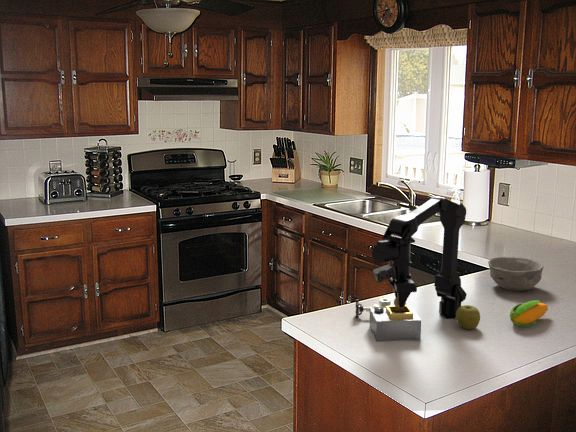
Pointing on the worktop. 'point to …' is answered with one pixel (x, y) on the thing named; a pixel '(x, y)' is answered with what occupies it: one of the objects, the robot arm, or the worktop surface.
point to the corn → (528, 313)
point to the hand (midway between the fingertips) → (399, 305)
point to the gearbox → (395, 323)
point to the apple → (468, 317)
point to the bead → (397, 303)
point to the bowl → (515, 272)
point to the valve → (360, 308)
